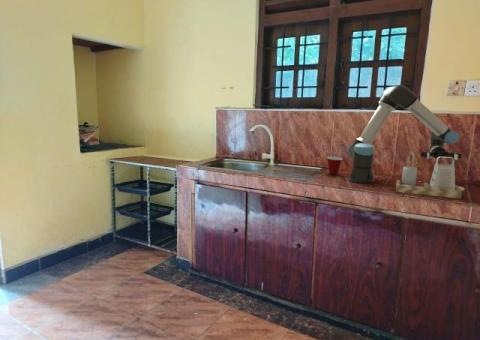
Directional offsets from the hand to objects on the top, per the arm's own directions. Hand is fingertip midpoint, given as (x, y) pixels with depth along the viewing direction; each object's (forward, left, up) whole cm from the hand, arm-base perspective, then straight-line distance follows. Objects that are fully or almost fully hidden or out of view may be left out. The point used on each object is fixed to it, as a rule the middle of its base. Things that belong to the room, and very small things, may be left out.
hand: (442, 157), depth 173 cm
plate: (+7, +4, -18) cm, 20 cm away
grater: (0, -12, -19) cm, 22 cm away
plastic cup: (-62, +15, -19) cm, 67 cm away
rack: (-7, -12, -18) cm, 23 cm away
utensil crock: (-16, -12, -18) cm, 27 cm away
